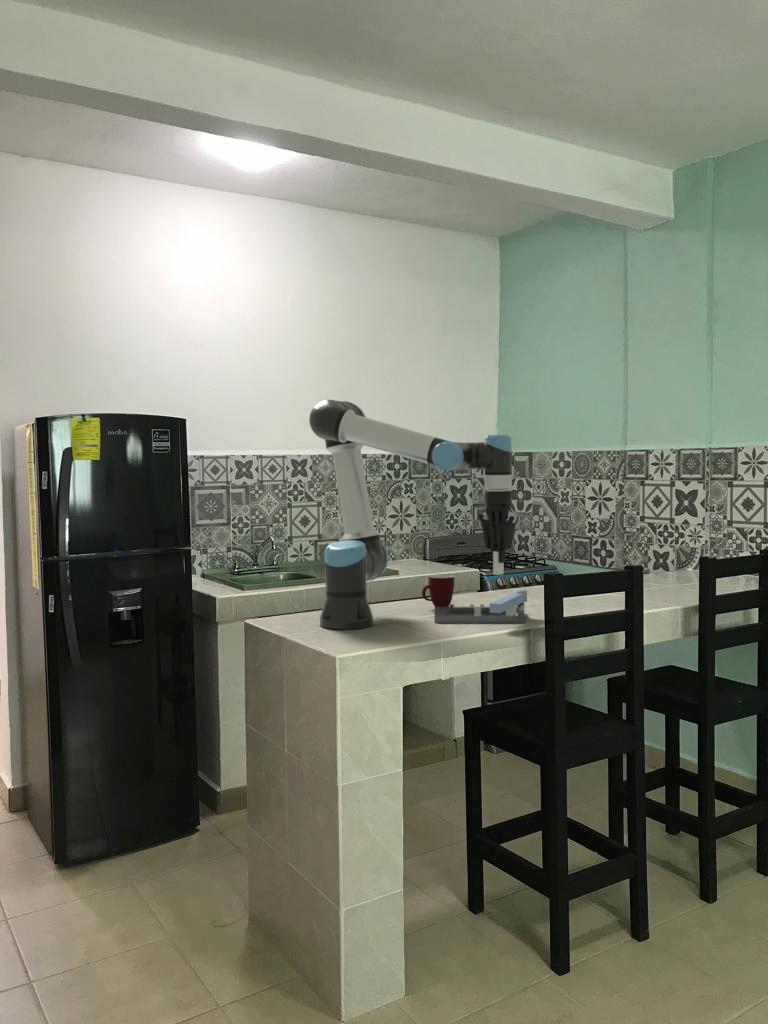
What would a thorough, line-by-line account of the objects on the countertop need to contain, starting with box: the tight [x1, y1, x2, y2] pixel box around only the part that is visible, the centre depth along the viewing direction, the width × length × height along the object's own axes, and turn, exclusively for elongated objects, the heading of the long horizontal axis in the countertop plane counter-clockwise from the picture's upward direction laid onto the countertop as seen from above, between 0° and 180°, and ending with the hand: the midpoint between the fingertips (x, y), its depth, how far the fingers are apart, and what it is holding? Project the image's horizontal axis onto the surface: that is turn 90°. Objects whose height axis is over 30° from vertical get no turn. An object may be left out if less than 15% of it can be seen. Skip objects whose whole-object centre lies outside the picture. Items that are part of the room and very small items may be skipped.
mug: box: [421, 574, 455, 608], centre depth 263 cm, size 10×8×10 cm
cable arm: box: [489, 589, 528, 613], centre depth 237 cm, size 23×4×3 cm, turn 152°
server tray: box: [434, 602, 527, 624], centre depth 246 cm, size 26×15×4 cm, turn 86°
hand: (498, 574), depth 236 cm, fingers closed
